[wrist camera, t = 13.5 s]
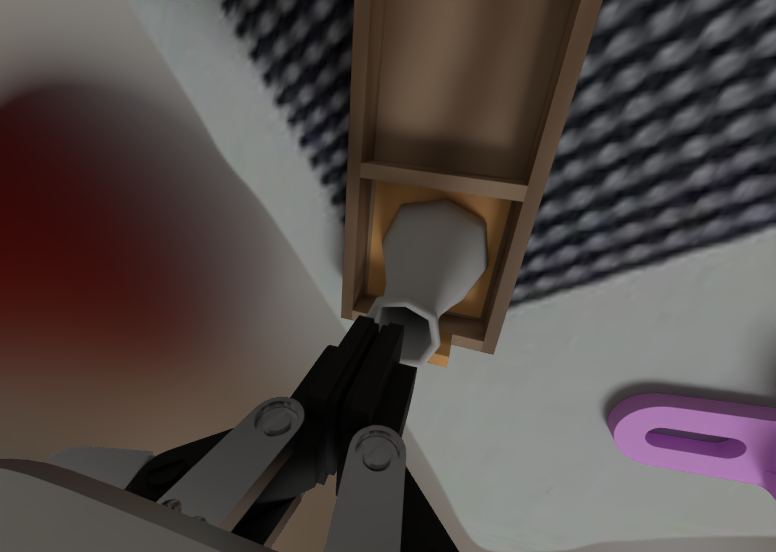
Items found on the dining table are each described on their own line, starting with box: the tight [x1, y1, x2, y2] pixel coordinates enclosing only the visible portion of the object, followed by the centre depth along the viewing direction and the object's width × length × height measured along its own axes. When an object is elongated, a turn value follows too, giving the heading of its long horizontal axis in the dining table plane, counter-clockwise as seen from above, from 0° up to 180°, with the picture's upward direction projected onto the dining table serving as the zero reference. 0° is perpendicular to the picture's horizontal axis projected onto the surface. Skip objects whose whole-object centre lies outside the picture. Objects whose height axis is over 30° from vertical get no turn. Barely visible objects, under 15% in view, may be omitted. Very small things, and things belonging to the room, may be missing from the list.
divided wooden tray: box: [341, 0, 603, 368], centre depth 18 cm, size 11×20×6 cm, turn 174°
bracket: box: [608, 393, 776, 500], centre depth 19 cm, size 13×6×7 cm, turn 93°
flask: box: [366, 199, 489, 367], centre depth 17 cm, size 7×7×10 cm
